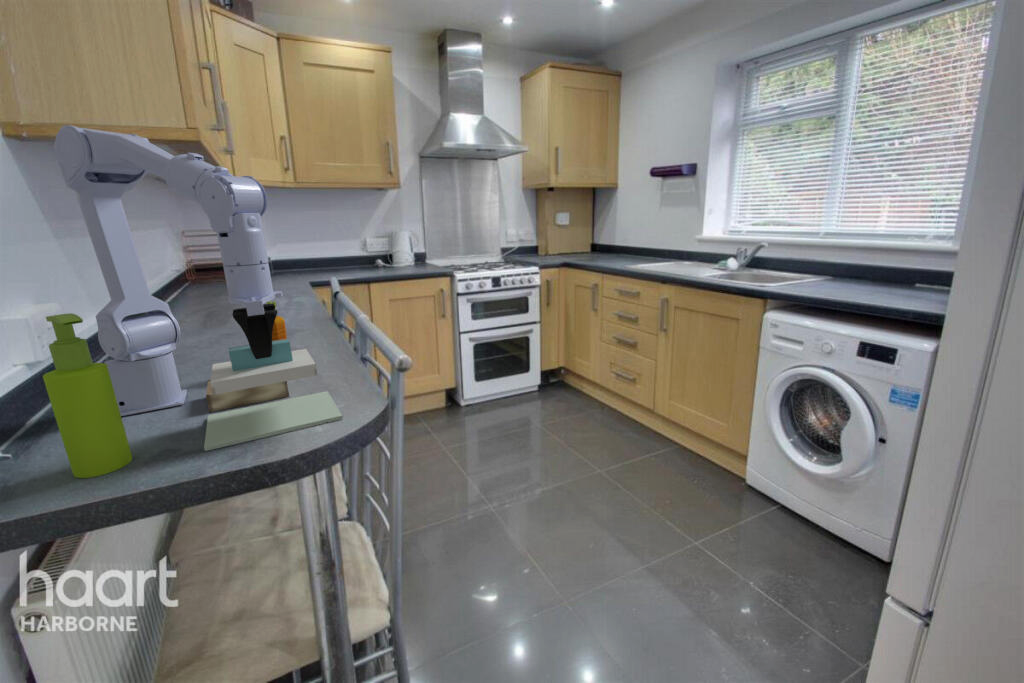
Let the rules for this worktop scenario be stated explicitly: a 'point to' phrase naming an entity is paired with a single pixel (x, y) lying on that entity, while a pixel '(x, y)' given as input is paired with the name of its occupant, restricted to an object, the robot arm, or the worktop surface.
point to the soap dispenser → (84, 404)
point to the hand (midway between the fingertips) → (262, 355)
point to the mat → (269, 419)
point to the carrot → (278, 327)
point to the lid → (261, 368)
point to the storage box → (245, 396)
